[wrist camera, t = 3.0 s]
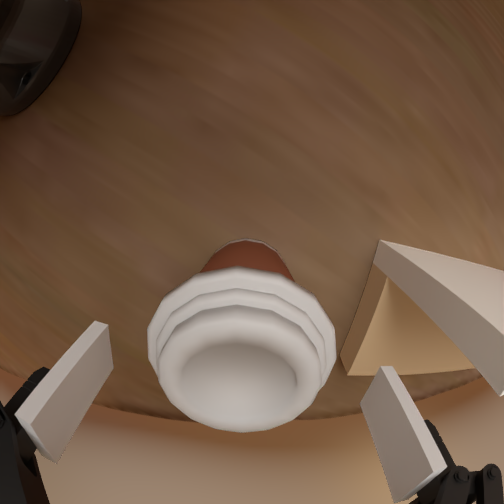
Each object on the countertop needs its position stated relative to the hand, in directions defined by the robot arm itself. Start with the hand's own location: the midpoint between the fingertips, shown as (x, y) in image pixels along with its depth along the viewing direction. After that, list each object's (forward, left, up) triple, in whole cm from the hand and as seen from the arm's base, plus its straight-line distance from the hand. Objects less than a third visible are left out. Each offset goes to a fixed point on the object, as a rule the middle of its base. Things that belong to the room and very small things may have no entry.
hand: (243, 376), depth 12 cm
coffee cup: (0, 0, -11) cm, 11 cm away
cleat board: (0, +19, -11) cm, 22 cm away
